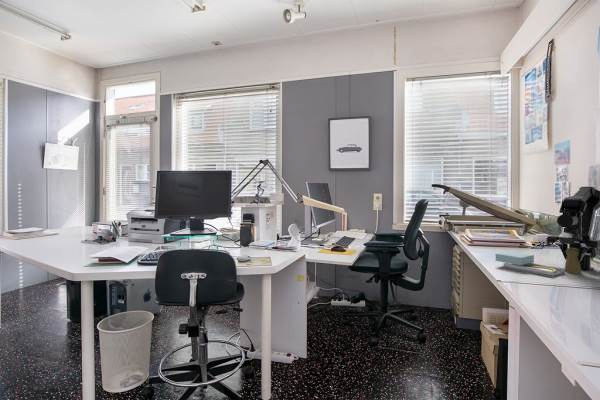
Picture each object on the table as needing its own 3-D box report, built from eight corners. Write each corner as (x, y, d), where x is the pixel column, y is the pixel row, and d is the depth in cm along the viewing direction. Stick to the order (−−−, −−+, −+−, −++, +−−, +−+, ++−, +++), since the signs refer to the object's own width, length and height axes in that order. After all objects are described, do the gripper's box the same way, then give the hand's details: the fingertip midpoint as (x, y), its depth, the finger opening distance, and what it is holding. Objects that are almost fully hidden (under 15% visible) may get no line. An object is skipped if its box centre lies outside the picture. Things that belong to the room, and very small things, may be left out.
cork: (584, 274, 145) (585, 249, 144) (568, 274, 146) (569, 249, 146) (576, 271, 151) (576, 247, 150) (561, 270, 152) (561, 246, 152)
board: (516, 264, 164) (516, 260, 164) (564, 273, 147) (564, 268, 147) (503, 268, 158) (503, 263, 158) (551, 277, 141) (551, 271, 141)
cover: (508, 258, 167) (508, 251, 167) (533, 262, 157) (533, 255, 157) (495, 260, 161) (495, 253, 161) (521, 265, 151) (521, 257, 151)
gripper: (540, 225, 152) (540, 258, 152) (592, 229, 136) (591, 266, 136) (552, 223, 157) (551, 256, 158) (603, 227, 141) (602, 263, 142)
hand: (572, 260), depth 148 cm, fingers closed on cork, 5 cm apart
